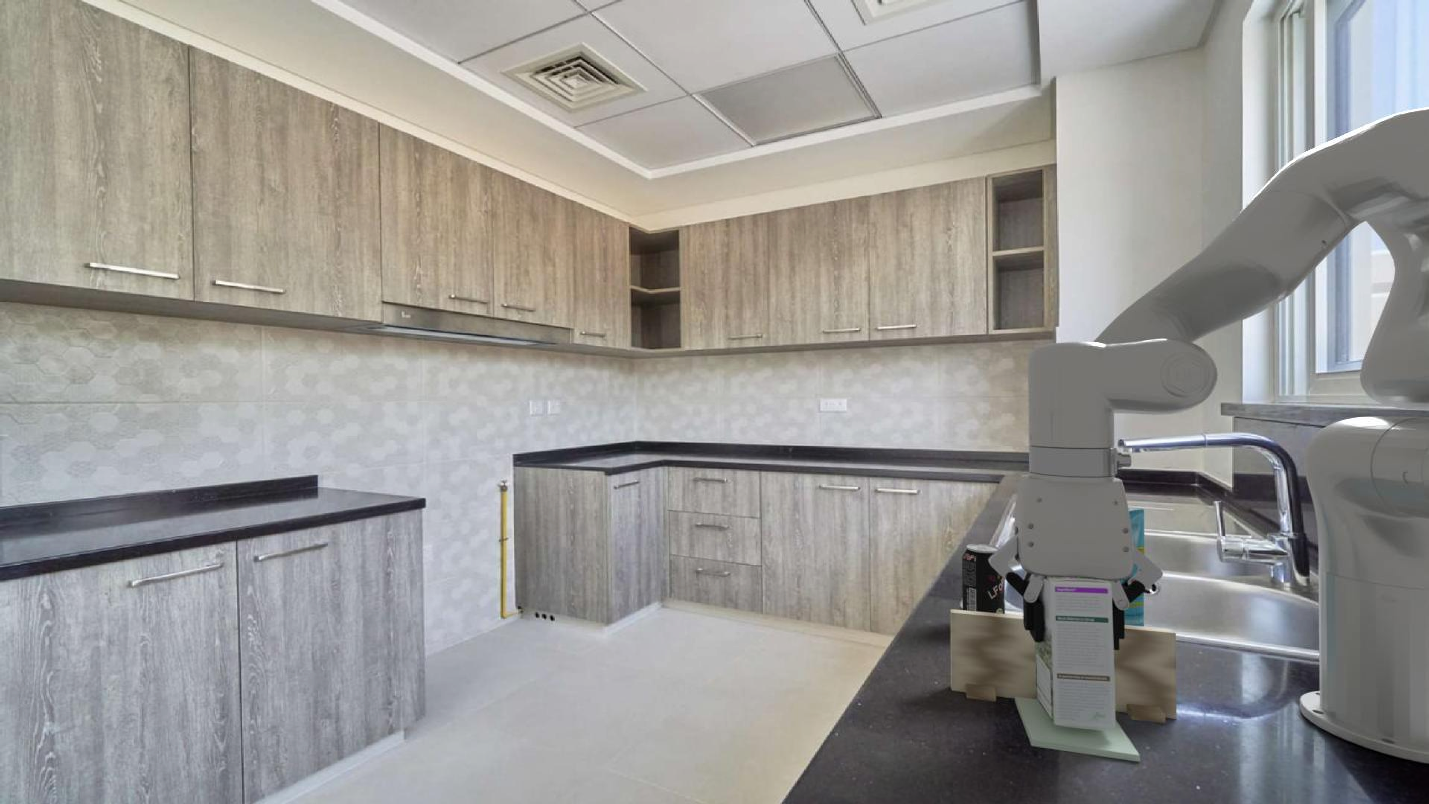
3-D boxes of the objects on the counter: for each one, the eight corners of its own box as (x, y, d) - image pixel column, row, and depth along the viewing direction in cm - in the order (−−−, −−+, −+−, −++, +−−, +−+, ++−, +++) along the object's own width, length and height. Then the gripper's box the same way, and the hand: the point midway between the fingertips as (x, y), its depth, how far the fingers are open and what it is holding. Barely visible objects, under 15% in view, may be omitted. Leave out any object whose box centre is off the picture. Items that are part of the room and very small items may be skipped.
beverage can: (1003, 624, 91) (1003, 544, 91) (1006, 638, 85) (1005, 553, 85) (962, 619, 93) (962, 541, 93) (962, 632, 87) (962, 549, 88)
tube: (1120, 669, 75) (1119, 515, 75) (1084, 654, 80) (1083, 508, 80) (1160, 659, 78) (1158, 511, 78) (1122, 646, 82) (1121, 505, 82)
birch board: (1166, 707, 66) (1165, 624, 66) (1182, 725, 62) (1181, 638, 62) (950, 680, 72) (949, 605, 72) (952, 695, 68) (952, 616, 68)
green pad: (1108, 714, 64) (1108, 708, 64) (1139, 761, 56) (1139, 755, 56) (1015, 702, 67) (1015, 696, 67) (1031, 745, 58) (1031, 739, 58)
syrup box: (1118, 732, 58) (1116, 581, 58) (1051, 726, 59) (1049, 578, 59) (1093, 703, 64) (1092, 566, 64) (1032, 698, 65) (1031, 563, 65)
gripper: (1155, 462, 62) (1157, 636, 62) (974, 459, 68) (976, 620, 67) (1187, 470, 55) (1190, 667, 55) (983, 466, 60) (985, 646, 60)
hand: (1072, 639), depth 61 cm, fingers closed on syrup box, 6 cm apart
